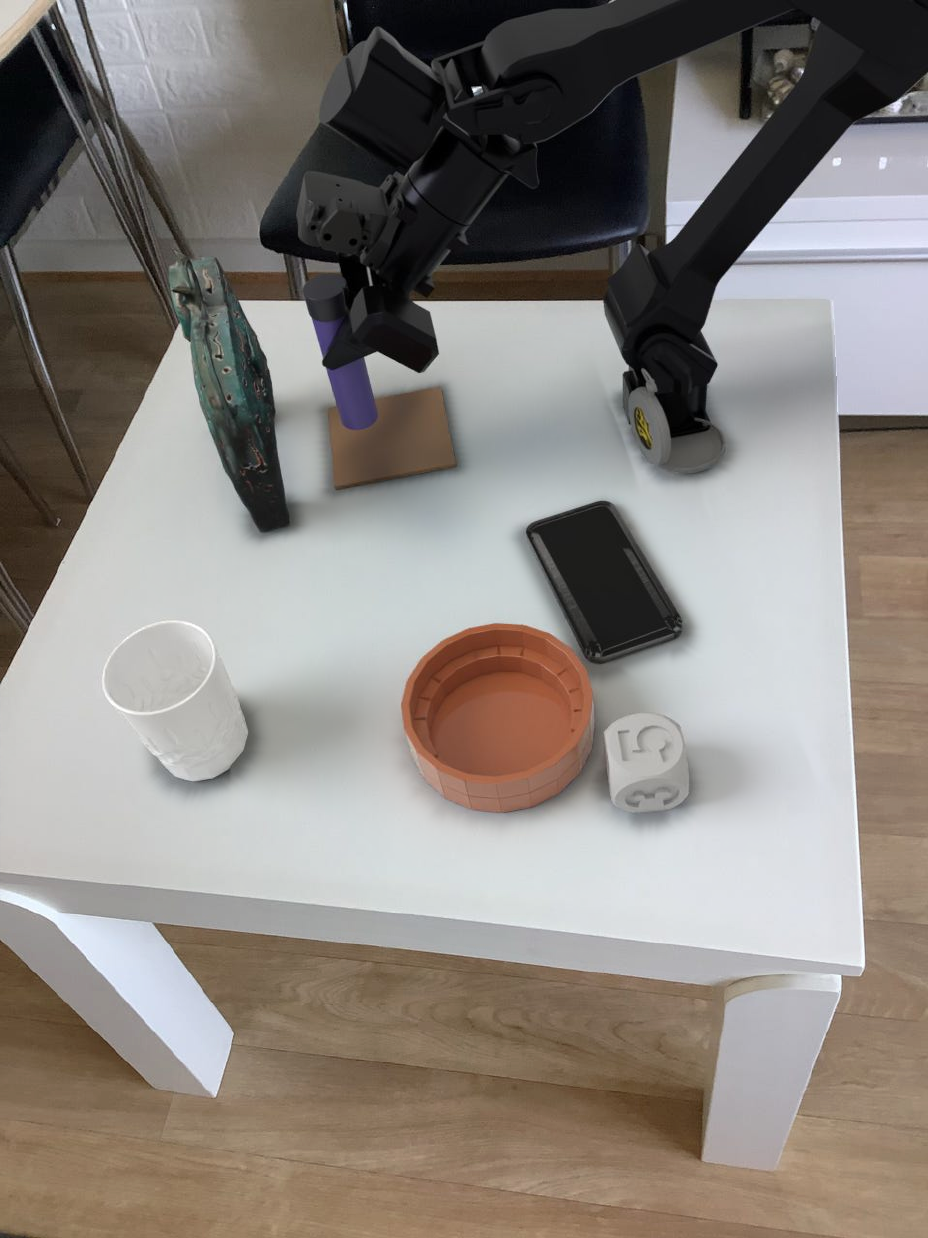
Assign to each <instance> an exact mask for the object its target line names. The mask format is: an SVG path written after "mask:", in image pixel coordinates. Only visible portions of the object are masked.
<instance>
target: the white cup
mask: <svg viewBox="0 0 928 1238" xmlns="http://www.w3.org/2000/svg"><path fill="white" fill-rule="evenodd" d="M101 686H102V690H103V693H104V695H105V697H106V699H107V700H108V701H109V703H110V704H111V705H112V706H113V708H114V709H115V710H116V712H117V713H118V714H119V715H120V716H121V718H122V719H123V720H124V722H125V723H126V724H127V726H128V727H129V728H130V729H131V731H132V732H133V733H134V734H135V736H137V738H139V739H140V741H141V742H142V744H143V745H144V746H145V747H146V748H147V749H148V750H149V752H150V753H151V754H152V755H153V756H154V757H156V758H157V759H158V760H159V761H160V763H161V764H162V765H163V767H165V769H167V770H168V771H169V773H170V774H172V776H174V778H178V779H182V780H185V781H189V782H198V781H199V782H200V781H205V780H212V779H215V778H217V776H220V775H221V774H223V773H225V772H226V771H228V770H230V768H231V766H232V765H233V764H234V762H236V760H237V759H238V758H239V756H240V755H241V754H242V752H243V751H244V750H245V746H246V743H247V738H248V735H249V729H248V725H247V723H246V718H245V715H244V713H243V711H242V709H241V704H240V700H239V698H238V695H237V693H236V691H235V688H234V686H233V684H232V680H231V678H230V676H229V673H228V671H227V668H226V666H225V664H224V662H223V659H222V658H221V655H220V652H219V651H218V648H217V646H216V644H215V641H214V639H213V637H212V636H211V634H209V632H208V631H207V630H206V629H204V628H203V627H202V626H200V625H198V624H197V623H194V622H191V621H187V620H181V619H171V620H169V619H167V620H162V621H156V622H153V623H150V624H148V625H145V626H143V627H141V628H138V629H137V630H135V631H134V632H132V633H130V634H129V635H128V636H127V637H125V638H124V639H122V641H120V642H119V643H118V644H117V645H116V646H115V648H114V649H113V650H112V651H111V653H110V654H109V656H108V658H107V660H106V662H105V664H104V666H103V671H102V676H101Z"/></svg>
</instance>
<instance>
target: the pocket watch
mask: <svg viewBox="0 0 928 1238" xmlns="http://www.w3.org/2000/svg"><path fill="white" fill-rule="evenodd" d="M641 371H642V374H643V376H644V378H645V379H646V381H647V382H646V387H647V388H646V387H639V388H637V389H635V390H634V391H632V392H631V394H630V396H629V401H628V404H629V418H630V423H631V425H630V426H631V430H632V433H633V437H634V439H635V442H636V444H637V446H638V448H639V450H640V452H641V454H642V455H643V457H644V458H645V460H646V461H647V462H648V463H649V464H651V465H652V466H658V467H659V468H662V469H664V470H666V471H668V472H671V473H676V474H682V475H683V474H696V473H700V472H703V471H706V470H709V469H710V468H712V467H713V466H715V465H716V464H717V463H719V461H720V460H721V458H723V456H724V453H725V452H726V451H725V450H726V443H727V441H726V438H725V435H724V433H723V431H722V430H721V429H720V428H719V427H718V426H717V425H716V424H714V423H712V422H711V421H710V422H709V421H706V420H704V419H700V418H695V421H699V422H703V425H704V426H708V425H710V429H709V430H708V431H705V432H700V433H695V434H689V435H684V436H679V437H674V438H671V436H670V430H669V426H668V422H667V419H666V416H665V413H664V411H663V408H662V406H661V405H660V403H659V401H658V399H657V397H656V396H655V395H654V394H655V392H657V386H656V384H655V383H654V382H655V380H654V379H652V378H651V376H650V375H649V374H648V372H647V371H646V370H645V369H643V368H642V370H641ZM646 375H647V376H646ZM647 377H648V378H649V379H648V378H647ZM651 438H652V439H651Z"/></svg>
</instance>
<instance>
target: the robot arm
mask: <svg viewBox="0 0 928 1238" xmlns="http://www.w3.org/2000/svg"><path fill="white" fill-rule="evenodd" d="M796 10H800V11H801V12H803V13H805V14H807V15H808V16H810V17H812V18H814V19H816V20H817V21H819V24H818V26H817V27H816V30H815V33H814V37H813V39H812V42H811V46H810V50H809V52H808V56H807V59H806V62H805V65H804V68H803V71H802V74H801V75H800V77H799V79H798V80H797V82H796V84H795V85H794V86H793V88H791V90H790V91H789V92H788V94H787V95H786V96H785V98H784V99H783V100H782V102H781V103H780V104H779V105H778V107H776V109H775V111H773V113H772V114H771V115H770V117H769V118H768V119H767V120H766V122H765V123H764V124H763V125H762V127H761V128H760V130H759V131H757V133H756V134H755V136H754V137H753V138H752V140H751V141H750V142H749V143H748V144H747V146H746V147H745V148H744V149H743V151H742V152H741V153H740V154H739V156H738V157H737V158H736V160H735V161H734V162H733V164H731V166H730V167H729V168H728V170H727V171H726V172H725V174H724V175H723V176H722V177H721V178H720V179H719V181H718V182H717V184H716V185H715V186H714V187H713V189H712V190H711V191H710V192H709V194H708V195H707V197H705V199H704V200H703V201H702V203H701V204H700V205H699V206H698V208H697V209H696V210H695V211H694V213H693V214H692V215H691V217H690V218H689V219H688V221H686V223H685V224H684V225H683V227H682V228H681V229H680V230H679V232H678V233H677V234H676V235H675V237H673V239H672V240H671V241H669V242H668V243H666V244H663V245H661V246H659V247H657V248H655V249H652V250H651V251H649V250H647V249H646V248H645V247H644V246H643V245H641V244H640V243H636V244H635V246H634V247H632V248H631V250H630V252H629V253H628V255H627V257H626V258H625V260H624V262H623V263H622V264H621V266H620V267H618V269H617V270H616V271H615V272H614V273H613V274H611V275H610V276H608V277H607V278H606V283H607V285H608V288H607V291H606V292H605V294H604V297H603V301H602V303H603V311H604V316H605V319H606V322H607V324H608V326H609V328H610V331H611V333H612V336H613V338H614V340H615V343H616V345H617V348H618V350H619V352H620V355H621V357H622V359H623V361H624V362H625V364H626V365H627V366H628V370H625V371H623V373H622V375H621V376H622V409H623V412H624V415H625V418H626V421H627V423H628V425H629V426H631V423H630V418H629V404H628V401H629V396H630V394H631V392H632V391H634V390H635V389H637V388H639V387H646V382H647V381H646V379H645V378H644V376H643V374H642V371H641V370H642V368H643V369H645V370H646V371H647V372H648V374H649V375H650V376H651V378H652V379H654V380H655V382H654V383H655V384H656V386H657V392H655V394H654V395H655V396H656V397H657V399H658V401H659V403H660V405H661V406H662V408H663V411H664V413H665V416H666V419H667V422H668V426H669V430H670V436H671V438H674V437H679V436H684V435H689V434H695V433H700V432H705V431H708V430H709V429H710V425H708V426H704V425H703V422H699V421H695V418H700V419H704V420H706V421H709V422H711V419H710V417H709V414H708V413H707V411H706V410H707V399H708V398H707V397H708V385H709V383H711V381H712V379H713V377H714V375H715V372H716V371H717V368H718V362H717V360H716V357H715V356H714V354H713V351H712V349H711V348H710V345H709V343H708V342H707V340H706V338H705V335H704V334H703V332H702V329H703V328H704V327H705V324H706V322H707V319H708V315H709V313H710V308H711V306H712V302H713V299H714V295H715V293H716V290H717V287H718V284H719V283H720V281H721V280H722V279H723V277H724V276H725V275H726V274H727V273H728V272H729V270H730V269H731V268H732V267H733V266H734V264H735V263H736V262H737V261H738V260H739V258H741V256H742V255H743V254H744V253H745V251H746V250H747V249H748V248H749V247H750V245H751V244H752V243H753V242H754V241H755V240H756V238H757V237H758V236H759V235H760V234H761V232H762V231H763V230H764V229H765V228H766V226H767V225H768V224H769V223H770V222H771V221H772V219H773V218H775V216H776V215H777V214H778V212H779V211H780V210H781V209H782V207H784V205H785V204H786V203H787V202H788V200H789V199H790V198H791V197H792V196H793V195H794V194H795V192H796V191H797V190H798V189H799V187H801V186H802V184H803V183H804V182H805V180H806V179H807V178H808V177H809V176H810V174H812V172H813V171H814V170H815V168H817V166H818V165H819V164H820V163H821V162H822V160H823V159H824V158H825V157H826V155H828V153H829V152H830V151H831V150H832V149H833V147H834V146H835V145H836V144H837V143H838V142H839V140H840V139H841V138H842V137H843V135H844V134H846V132H847V131H848V130H849V128H851V127H852V126H853V125H854V124H855V123H856V122H858V121H860V120H862V119H864V118H866V117H868V116H871V115H872V114H874V113H876V112H879V111H880V110H882V109H884V108H886V107H888V106H890V105H893V104H894V103H896V102H898V101H899V100H900V99H901V98H903V96H905V95H906V94H907V93H908V92H909V91H910V90H911V89H913V87H915V86H916V85H917V84H918V83H919V82H920V81H921V80H922V79H923V78H924V77H926V75H927V74H928V0H612V1H611V2H608V3H606V4H605V3H604V4H602V5H597V6H593V7H589V8H552V9H548V10H544V11H540V12H536V13H532V14H527V15H523V16H520V17H514V18H511V19H509V20H506V21H504V22H502V23H500V24H499V25H498V26H496V27H494V28H493V29H491V31H490V32H489V33H488V34H487V35H486V37H485V40H482V41H479V42H476V43H474V44H471V45H468V46H466V47H463V48H459V49H457V50H455V51H451V52H448V53H447V54H444V55H441V56H438V57H435V58H433V60H431V63H430V65H431V67H430V66H429V65H428V64H427V63H425V62H424V61H422V60H420V59H419V58H418V57H416V56H415V55H414V54H412V53H411V52H409V51H408V50H406V49H405V48H404V47H403V46H402V45H401V44H400V43H399V41H398V40H397V39H396V38H395V37H394V36H393V35H392V34H390V33H389V32H387V31H386V30H385V29H383V27H381V26H375V27H374V28H373V30H372V31H371V32H370V34H369V36H368V37H367V39H366V40H362V41H360V42H359V43H357V44H356V45H355V46H354V47H353V48H352V49H351V50H350V51H349V53H348V54H347V55H342V57H341V58H340V60H339V62H338V63H337V65H336V67H335V68H334V70H333V72H332V73H331V76H330V78H329V80H328V82H327V84H326V87H325V90H324V92H323V95H322V98H321V100H320V105H319V108H318V110H319V111H318V120H319V122H320V124H322V125H323V126H325V127H327V128H328V129H330V130H331V131H332V132H334V133H336V134H337V135H339V136H340V137H342V138H343V139H345V140H347V141H348V142H350V143H352V144H353V145H355V146H356V147H358V148H359V149H361V150H362V151H364V152H366V153H367V154H369V155H370V156H372V157H373V158H375V159H376V160H378V161H380V162H381V163H382V164H384V165H386V166H387V167H389V168H391V169H395V168H398V167H401V168H402V169H404V170H407V169H409V170H407V172H406V173H405V175H403V174H401V173H399V172H398V171H395V172H394V173H393V175H392V174H388V175H387V176H386V178H385V179H384V181H383V183H381V185H379V187H376V186H374V185H370V184H366V183H364V182H362V181H360V180H356V179H353V178H348V177H343V176H340V175H334V174H331V173H325V172H321V171H315V170H309V171H306V172H304V174H303V177H302V183H301V188H300V194H299V198H298V203H297V206H296V207H297V208H296V213H295V218H296V221H297V235H298V238H299V240H300V241H301V242H302V243H304V244H305V245H308V246H311V247H316V248H320V247H321V249H323V250H325V251H329V252H335V253H336V257H337V263H338V265H339V270H340V271H339V273H338V274H339V275H341V276H343V277H344V278H345V279H346V281H347V285H348V289H349V290H348V289H346V288H344V287H343V288H342V292H343V299H344V306H345V311H346V315H345V317H344V319H343V321H342V323H341V325H340V326H339V328H338V330H337V332H336V334H335V336H334V338H333V340H332V341H331V343H330V345H329V347H328V349H327V351H326V353H325V356H324V358H323V357H322V359H321V364H322V366H323V367H324V368H325V369H326V368H328V369H330V370H335V369H338V368H340V367H342V366H345V365H347V364H349V363H352V362H354V361H356V360H359V359H361V358H363V357H364V358H365V357H368V356H370V355H372V354H375V353H379V354H381V355H382V356H385V357H387V358H388V359H390V360H393V361H395V362H397V363H398V364H400V365H402V366H404V367H406V368H408V369H410V370H412V371H413V372H416V373H417V374H422V373H425V372H426V371H427V370H428V368H429V367H430V366H431V364H432V363H434V361H435V360H436V358H437V357H438V356H439V355H440V351H439V346H438V339H437V335H436V332H435V327H434V323H433V318H432V315H431V311H430V310H428V309H426V308H424V307H423V306H420V305H419V304H418V303H416V302H414V301H413V300H412V299H411V296H410V294H411V293H412V292H414V291H415V292H416V293H418V295H421V296H423V297H424V298H426V299H427V298H429V296H430V295H431V294H432V293H433V291H435V289H436V287H435V282H434V279H433V274H434V273H435V272H436V271H437V269H438V268H439V266H440V265H441V264H442V262H443V261H444V260H445V259H446V257H447V256H448V255H449V253H450V252H452V253H454V254H455V255H456V256H459V257H461V255H462V254H463V253H464V252H465V250H466V249H467V248H468V247H469V243H468V240H467V236H466V231H467V230H468V229H469V228H470V226H471V225H472V223H474V221H475V219H476V218H477V217H478V216H479V214H480V213H481V212H482V210H483V209H484V208H485V206H486V205H487V204H488V203H489V202H490V200H491V199H492V198H493V196H494V195H495V194H496V193H497V191H499V189H500V187H501V186H502V184H503V183H504V182H505V181H506V180H507V178H508V177H509V175H511V176H512V177H514V178H515V179H517V180H518V181H520V182H521V183H523V184H524V185H526V186H527V187H528V188H530V189H536V188H538V187H539V184H540V179H539V175H538V170H537V157H538V156H537V155H538V151H539V149H538V146H537V144H539V143H543V142H547V141H548V140H550V139H552V138H554V137H555V136H557V135H559V134H560V133H562V132H563V131H565V130H567V129H569V128H570V127H572V126H573V125H575V124H576V123H579V122H580V121H582V120H583V119H585V118H586V117H588V116H589V115H591V114H592V113H593V112H594V111H595V110H596V109H597V108H598V107H599V106H600V104H602V102H603V101H604V100H605V99H607V98H608V96H609V95H610V94H611V93H612V92H613V91H614V90H615V89H616V88H618V87H619V86H622V85H623V84H625V83H626V82H627V81H629V80H631V79H633V78H635V77H637V76H640V75H643V74H645V73H647V72H649V71H652V70H654V69H657V68H659V67H661V66H665V65H666V64H669V63H672V62H673V61H676V60H678V59H680V58H683V57H685V56H688V55H689V54H692V53H694V52H697V51H699V50H702V49H704V48H707V47H709V46H712V45H713V44H716V43H718V42H720V41H723V40H725V39H728V38H730V37H732V36H734V35H735V36H736V35H737V34H739V33H741V32H742V33H743V32H744V31H747V30H749V29H751V28H754V27H756V26H758V25H761V24H763V23H765V22H768V21H770V20H774V19H775V18H777V17H780V16H782V15H785V14H787V13H790V12H791V11H796ZM473 88H481V90H482V94H478V95H476V96H475V93H474V90H473ZM646 376H647V375H646ZM647 378H648V377H647ZM648 379H649V378H648ZM646 388H647V387H646ZM651 439H652V438H651Z"/></svg>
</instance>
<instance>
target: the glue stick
mask: <svg viewBox="0 0 928 1238" xmlns="http://www.w3.org/2000/svg"><path fill="white" fill-rule="evenodd" d="M339 274H340V273H332V272H328V273H327V272H326V273H322V274H318V275H316V276H313V277H311V278H310V279H309V280H307V281H306V282H305V283H304V285H303V287H302V295H303V298H304V302H305V305H306V309H307V312H308V315H309V317H310V318H311V321H312V324H313V328H314V332H315V336H316V338H317V341H318V345H319V348H320V352H321V355H322V359H323V358H324V356H325V353H326V351H327V349H328V347H329V345H330V343H331V341H332V340H333V338H334V336H335V334H336V332H337V330H338V328H339V326H340V325H341V323H342V321H343V319H344V317H345V315H346V311H345V306H344V299H343V292H342V288H343V287H344V288H346V289H348V285H347V281H346V279H345V278H344V277H343V276H341V275H339ZM348 290H349V289H348ZM325 370H326V373H327V376H328V377H327V378H328V380H329V384H330V387H331V391H332V395H333V397H334V401H335V404H336V405H335V406H337V408H338V412H339V415H340V419H341V422H342V424H343V426H344V427H346V428H347V429H350V430H362V429H366V428H368V427H370V426H371V425H373V424H374V423H375V422H376V420H377V418H378V411H377V407H376V403H375V399H376V398H375V396H374V392H373V388H372V384H371V379H370V375H369V372H368V367H367V364H366V360H365V357H363V358H361V359H359V360H356V361H354V362H352V363H349V364H347V365H345V366H342V367H340V368H338V369H335V370H330V369H328V368H326V367H325Z"/></svg>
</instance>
